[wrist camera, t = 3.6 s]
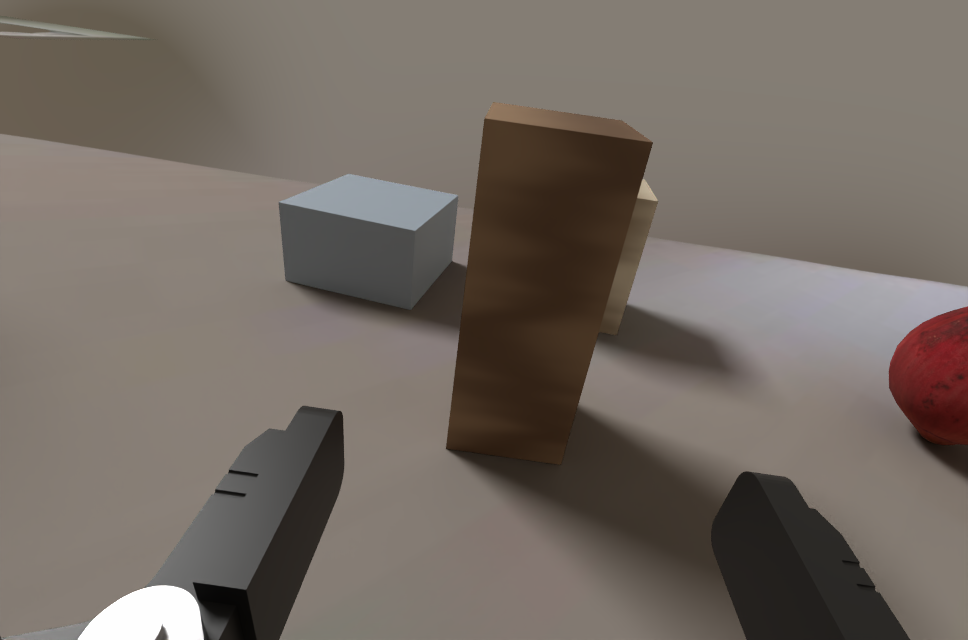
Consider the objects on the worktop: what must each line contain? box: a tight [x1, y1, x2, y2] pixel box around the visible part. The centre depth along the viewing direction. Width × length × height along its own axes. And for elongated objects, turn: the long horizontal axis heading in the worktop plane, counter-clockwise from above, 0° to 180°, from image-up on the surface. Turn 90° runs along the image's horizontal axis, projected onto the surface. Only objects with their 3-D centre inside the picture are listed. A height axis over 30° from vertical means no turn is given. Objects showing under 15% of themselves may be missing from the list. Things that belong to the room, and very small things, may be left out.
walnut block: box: [446, 102, 653, 465], centre depth 18 cm, size 4×4×12 cm
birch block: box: [599, 179, 658, 335], centre depth 28 cm, size 5×5×8 cm
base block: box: [279, 174, 458, 310], centre depth 31 cm, size 8×8×5 cm
